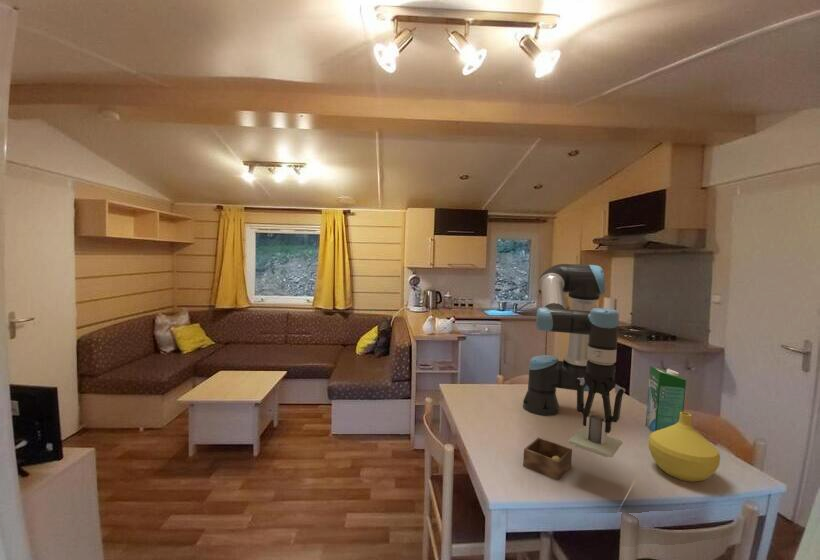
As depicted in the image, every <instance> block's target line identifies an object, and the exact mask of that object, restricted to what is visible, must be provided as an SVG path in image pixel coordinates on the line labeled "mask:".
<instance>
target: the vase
mask: <svg viewBox="0 0 820 560" xmlns="http://www.w3.org/2000/svg"><path fill="white" fill-rule="evenodd" d="M648 449H649V451H650V455H651V457H652V459H653V461H654V462H655V463H656V464H657V466H658V467H659V468H660V469H661V470H662V471H663V472H664V473H666V475H669V476H671V477H673V478H675V479H678V480H680V481H685V482H693V483H694V482H700V481H705V480H706V479H708V478H710V477H711V476H713V475H714V473H715V472H716V470H717V469H718V468H719V466H720V462H721V456H720V453H719V450H718V449H717V447H715V445H713V444H712V443H711V442H710V441H708V440H707V438H705V437H704V436H703V435H701V434H700V432H699V431H697V430H696V429H695V428H694V427H693V425H692V414H691V413H689V412H685V411H683V412H680V417H679V422H678V423H676V424H674V425H672V426H669V427H666V428H663V429H660V430H657V431H654V432H651V433H650V435H649V436H648Z"/></svg>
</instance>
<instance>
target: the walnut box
mask: <svg viewBox="0 0 820 560" xmlns="http://www.w3.org/2000/svg"><path fill="white" fill-rule="evenodd" d="M553 456H558V457H559V458H560V459H559V460H558V461H557V460H554V459H552V457H553ZM572 458H573V448H569V447H567V446H564V445H562V444H558V443H556V442H553V441H550V440H548V439H544V438H541V437H537V438H536V439H534V441H532V442H531V443H530V444H527V446H526V447H525V448H524V449H523V459H522V460H523V461H522V462H523V463H522V465H523V467H525V468H529V469H530V470H533V471H535V472H537V473H540V474H543V475H545V476H547V477H549V478H552V479H553V480H557V481H559V480H560V478H562V477H563V476H564V474H565V473H566V472H568V470H569V469H570V468H571V466H572Z"/></svg>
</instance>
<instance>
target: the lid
mask: <svg viewBox="0 0 820 560" xmlns="http://www.w3.org/2000/svg"><path fill="white" fill-rule="evenodd" d="M590 415H591V416H590V431H589V439H586V438H585V437H586V428H582V427H581V428H580V429H579V430H578V431H577V432H576V433H575V434H574V435H572V437H571V438H570V439H569V440H568V444H570V445H573V446H575V447H576V448H579V449H582V450H585V451H588V452H590V453H594V454H596V455H599V456H602V457H605V458H611V459H612V458H613V457H614V456H615V455H616V453H617V452H618V451H619V449H620V447H621V446H622V445H623V440H620V439H618V438H615V437H612V436H607V439H606V442H605V443H604V444H601V435H602V421H604V419H605V417H603V416H600V415H596V414H590Z"/></svg>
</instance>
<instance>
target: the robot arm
mask: <svg viewBox="0 0 820 560" xmlns="http://www.w3.org/2000/svg"><path fill="white" fill-rule="evenodd" d="M604 273H605V272H604V269H603V267H601V266H599V265H596V264H585V263H584V264H582V263H581V264H573V263H559V264H558V263H557V264H554V265H553V266H552V265H551V267H548V268H547V269H544V271H543V272H542V273H541V275H540V277H539V279H538V287H539V290H540V291H541V307H538V308H537V309H536V320H535V321H536V323H535V324H536V325H535V327H536V329H537V330H538V331H544V332H547V333H550V332H552V333H554V332H555V333H564V334H565V333H566V334H569V335H568V336H569V337H568V347H567V354H566V355H564V356H563V359H562V360H559V359H558V356H555V355H549V354H546V355H545V354H543V355H536V356H532V357H531V358H530V359H529V364H528V365H529V366H528V385H527V391H526V393H525V396H524V398H523V400H522V401H523V402H522V407H523V409H524V410H526V411H527V412H529V413H531V414H535V415H540V416H549V417H550V416H555V415H558V414H559V413H560V404H559V401H558V398H557V397H558V396H557V393H556V392H557V389H564V390H569V391H570V390H571V391H576V411H577V412H578V413H580V414H582V415H583V416H582V417H583V419H582V425H583V427H585V429H586V437H585V438H586V439H589V431H590V416H591V415H592V414H591V409H592V406H593V403H594V399H595V397H596V396H595V395H596V394H599V395H601V399H602V403H603V404H602V405H603V412H604V421H602V435H601V444H604V443H605V442H606V439H607V434H610V433H611V431H612V423H617V422H618V421H620V416H621V408H622V401H623V395H624V394H625V392H626V390H627V389H626V388H625V387H621V386H620V385H618V384H617V382H616V379H615V378H616V367H617V366H616V364H615V363H616V362H617V350H618V349H617V346H618V336H619V335H618V334H619V325H620V321H619V319H620V316H619V315H620V313H619V311H618V310H616V309H612V308H603V307H596V308H595V304H596V302H598V301H599V300H600V297H601V296H602V295H604V294H605V292H606V280H605V274H604ZM564 293H568V298H569V299H570V300H571V309H568V308H567V309H566V302H565V295H564ZM600 295H601V296H600ZM613 389H614V393H615V394H616V395H615V398H614V406H613V413H612V407H611V398H610V395H611V394H610V392H611V391H613ZM584 392H587V393H588V394H587V398H586V401H584V400H585V399H584V398H585V395H584V394H585V393H584ZM584 402H585V403H584Z"/></svg>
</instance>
